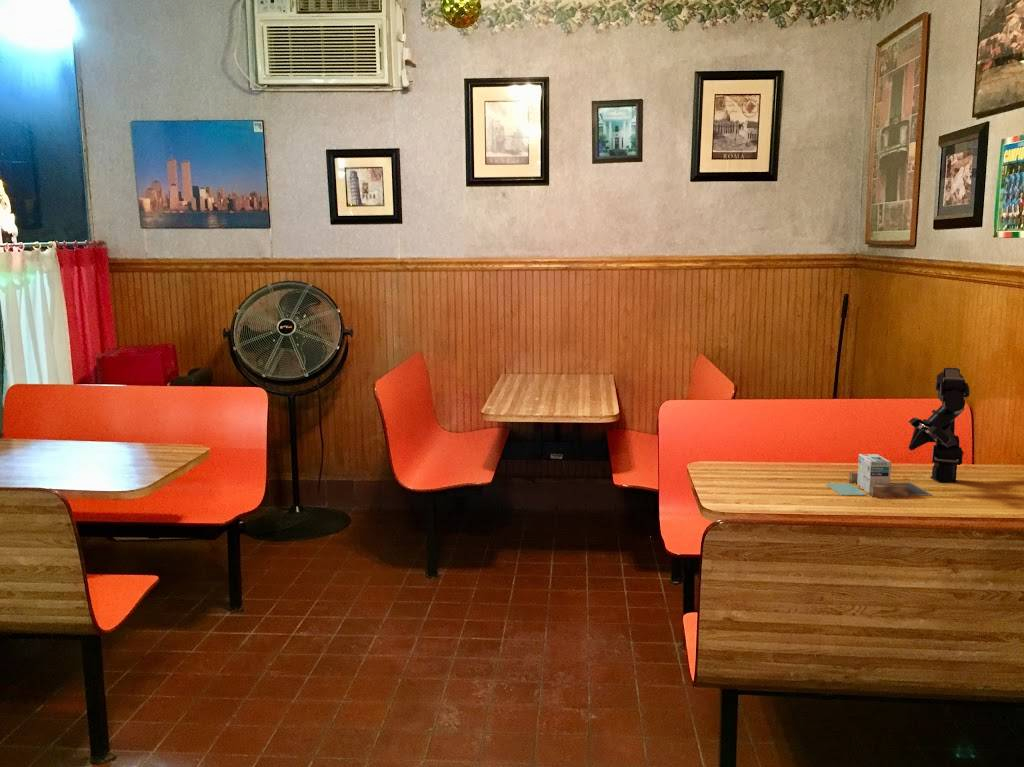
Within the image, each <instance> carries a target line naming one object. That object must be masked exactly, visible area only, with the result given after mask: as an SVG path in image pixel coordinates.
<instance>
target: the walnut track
mask: <svg viewBox="0 0 1024 767" xmlns="http://www.w3.org/2000/svg"><path fill="white" fill-rule="evenodd" d="M848 474H849V475H848V476H849V477H848V483H849V482H850V483H849V484H851V483H857V478H858V471H849V473H848ZM907 494H908V486H906V485H871V487H870V494H869V496H870V497H871V496H872V497H871V498H873V497H880V498H908V495H907Z"/></svg>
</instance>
